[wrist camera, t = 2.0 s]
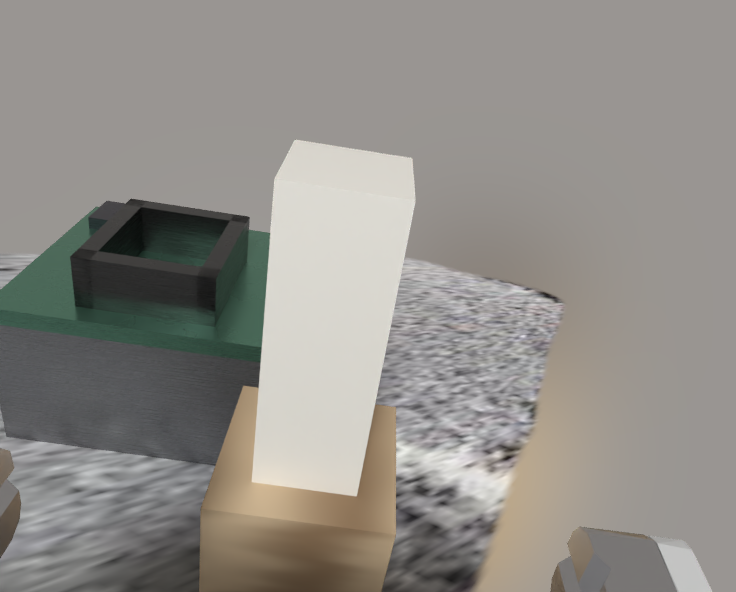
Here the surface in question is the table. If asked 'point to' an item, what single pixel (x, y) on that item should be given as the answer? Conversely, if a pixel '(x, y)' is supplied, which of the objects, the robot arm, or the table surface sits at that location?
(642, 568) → the robot arm
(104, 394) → the green-topped socket block
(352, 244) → the keyed plug
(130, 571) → the table surface
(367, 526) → the parts stand
